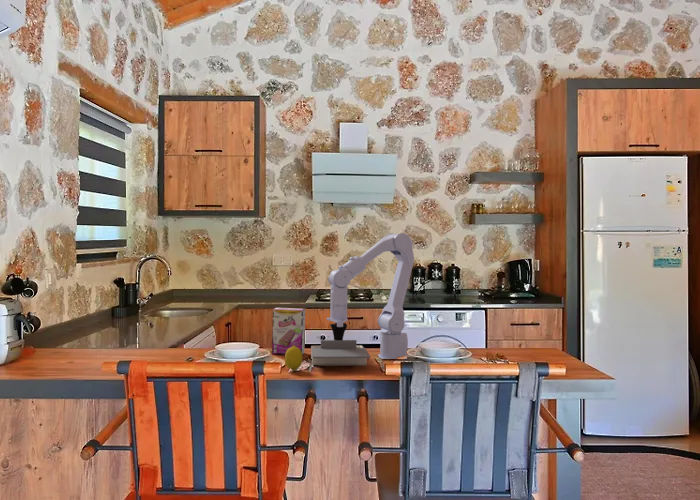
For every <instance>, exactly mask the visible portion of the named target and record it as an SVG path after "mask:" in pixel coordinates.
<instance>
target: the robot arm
mask: <svg viewBox="0 0 700 500" xmlns="http://www.w3.org/2000/svg"><path fill="white" fill-rule="evenodd" d="M413 244H414V241H413V239H412V238H411V237H410V235H409V234H407V233H404V232H401V233H394V232H393V233H389V234H387V235H386V236H384V237H382V238H381V239H379V240H378V242H376V243H375V244H374V245H373V246H372V247H370V248H368V250H366V251H365V252H364V253H363V254H362V255H360V256H357V255H355V256H350V257H349V258H348V259H349V260H348V261H347V262H345V263H344V264H341V265H339V266H338V269H335V270H332V271H331V272H330V273H329V276H328V278H327V280H328V283H329V285H330V302H329V303H330V305H329V306H330V308H329V309H330V313H329V316H330V317H326V321H329V322H333V323H330V324H329V326H330V328H331V330H332V334H333V340H344V335H345V332H346V329H347V328H348V325H347V323H346V322H348V286H349V285H350V284H351V280H353V279H354V278H356V277H357V276H359V274H361V273H362V272H364V271H365V270H366V267H367V264H368V263H370V262H372V260H374V259H375V258H377V257H378V256H380V255H381V254H383V253H384V252H391V254H393V256H394V257H395V259H396V260H397V264H396V269H395V273H394V277H393V280H392V281H393V282H392V284H391V289H390V292H389V296H388V301H387V304H386V305H384V307H383V308H382V311H381V314H380V315H379V316H378V318H377V324H378V326H379V327H380V347H379V348H380V350H379V351H380V353H378V354H377V356H378V357H379V359H380V358H381V359H396V358H398V357H402V356H406V355H407V351H408V347H409V344H408V343H409V341H408V334H407V333H406V332H402V331H403V330H404V328H405V310H404V308H403V306H404V302H405V298H406V294H407V291H408V286H409V283H410V278H411V274H412V272H413V270H412V269H413V267H414V264H415V263H414V262H415V255H414V254H415V253H414V251H413V250H414V249H413ZM407 356H408V355H407ZM381 359H380V360H381Z"/></svg>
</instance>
